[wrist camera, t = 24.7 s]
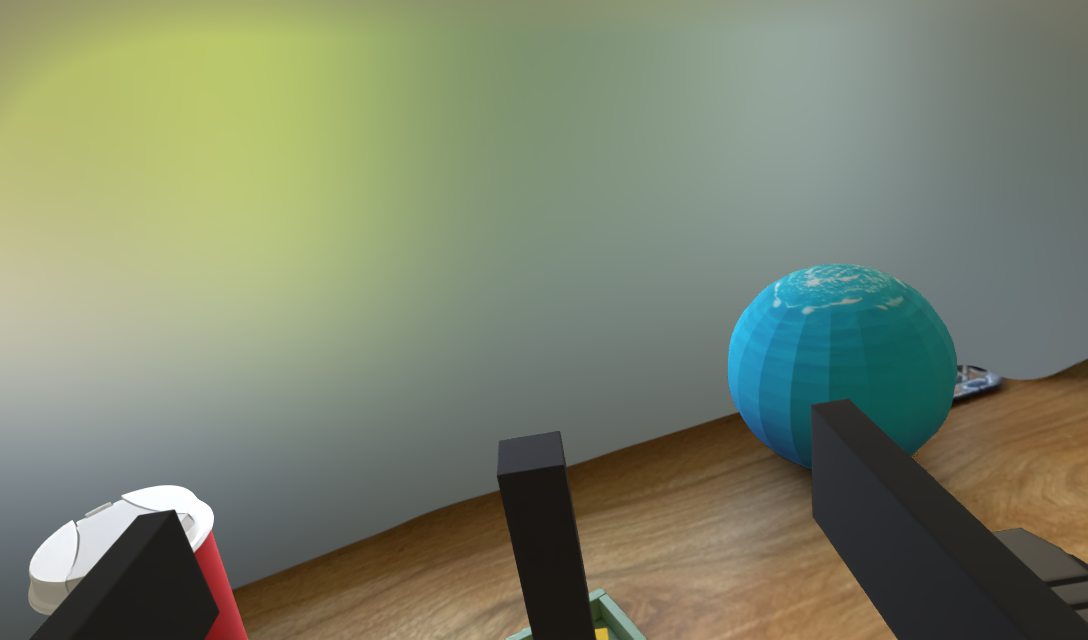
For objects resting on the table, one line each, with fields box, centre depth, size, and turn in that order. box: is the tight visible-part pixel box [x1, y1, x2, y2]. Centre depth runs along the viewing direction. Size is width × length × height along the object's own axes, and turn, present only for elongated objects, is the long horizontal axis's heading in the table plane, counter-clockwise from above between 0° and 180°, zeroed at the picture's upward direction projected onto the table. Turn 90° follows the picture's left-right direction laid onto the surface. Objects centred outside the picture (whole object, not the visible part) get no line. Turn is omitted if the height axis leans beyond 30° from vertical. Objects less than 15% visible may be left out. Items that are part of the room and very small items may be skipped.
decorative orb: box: [728, 264, 957, 470], centre depth 46 cm, size 15×15×15 cm
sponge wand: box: [497, 431, 609, 640], centre depth 26 cm, size 4×6×17 cm, turn 2°
